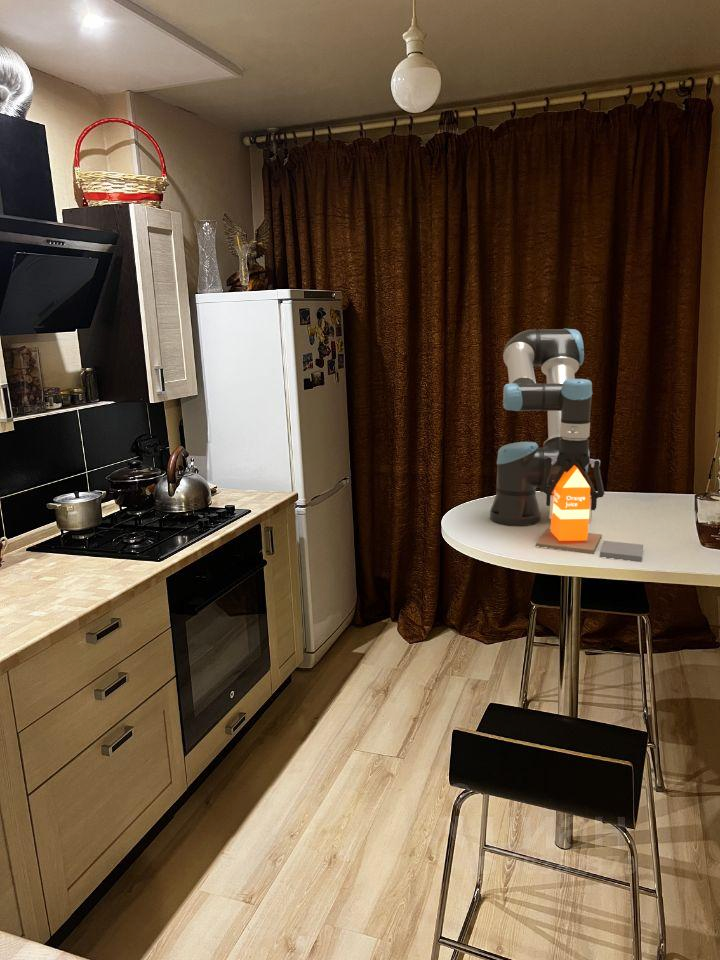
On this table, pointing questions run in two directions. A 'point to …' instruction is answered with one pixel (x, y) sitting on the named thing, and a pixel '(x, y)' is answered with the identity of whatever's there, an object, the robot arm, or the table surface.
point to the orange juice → (571, 507)
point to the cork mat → (570, 542)
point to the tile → (622, 551)
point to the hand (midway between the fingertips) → (570, 519)
